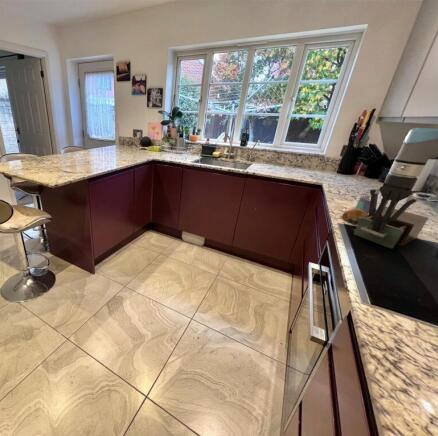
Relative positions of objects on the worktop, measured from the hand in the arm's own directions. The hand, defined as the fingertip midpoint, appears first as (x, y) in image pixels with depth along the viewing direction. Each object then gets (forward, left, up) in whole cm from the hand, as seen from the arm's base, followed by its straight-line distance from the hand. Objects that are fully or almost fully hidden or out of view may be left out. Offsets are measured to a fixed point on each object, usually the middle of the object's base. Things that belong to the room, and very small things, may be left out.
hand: (372, 234), depth 91 cm
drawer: (0, -7, -4) cm, 8 cm away
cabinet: (0, -18, -5) cm, 19 cm away
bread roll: (+14, -21, -5) cm, 26 cm away
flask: (+17, -35, -5) cm, 39 cm away
